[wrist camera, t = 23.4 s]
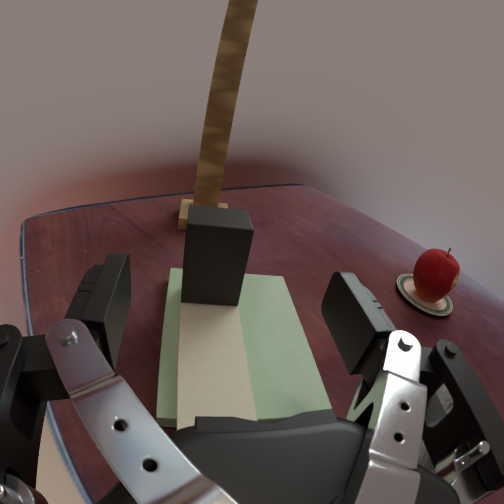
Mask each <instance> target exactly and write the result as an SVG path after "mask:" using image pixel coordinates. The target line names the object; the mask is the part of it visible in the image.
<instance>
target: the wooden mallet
mask: <svg viewBox="0 0 504 504" xmlns="http://www.w3.org/2000/svg"><path fill="white" fill-rule="evenodd" d="M253 233H254V229H253V226H252V223H251V220H250V217H249V214H248V211H247V210H238V209H229V208H220V207H211V206H201V205H191V204H190V205H189V210H188V218H187V226H186V237H185V248H184V260H183V273H182V288H181V305H180V321H179V340H178V366H177V430H179V429H182V428H185V427H189V426H194V423H195V416H212V417H230V416H232V417H237V418H242V419H248V420H253V421H257V415H256V410H255V404H254V399H253V393H252V388H251V382H250V376H249V370H248V365H247V359H246V353H245V347H244V341H243V335H242V329H241V323H240V317H239V311H238V303H239V299H240V294H241V289H242V284H243V280H244V275H245V270H246V266H247V261H248V256H249V252H250V247H251V242H252V237H253Z"/></svg>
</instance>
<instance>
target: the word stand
mask: <svg viewBox="0 0 504 504" xmlns="http://www.w3.org/2000/svg"><path fill="white" fill-rule="evenodd" d="M257 3H258V0H229V4H228V8H227V12H226V16H225V20H224V25H223V29H222V34H221V38H220V42H219V47H218V52H217V57H216V62H215V67H214V72H213V77H212V82H211V87H210V93H209V98H208V104H207V110H206V116H205V122H204V128H203V134H202V141H201V147H200V154H199V161H198V169H197V176H196V184H195V192H194V200H187V199H182V202H181V207H180V213H179V218H178V230H186V226H187V218H188V210H189V205H190V204H191V205H201V206H211V207H220V208H228V205H227V204H225V203H219V197H220V191H221V184H222V179H223V173H224V166H225V160H226V155H227V148H228V143H229V137H230V132H231V127H232V121H233V116H234V111H235V105H236V100H237V95H238V90H239V85H240V80H241V75H242V70H243V65H244V60H245V55H246V51H247V47H248V42H249V37H250V33H251V28H252V24H253V20H254V15H255V11H256V7H257Z"/></svg>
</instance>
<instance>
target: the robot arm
mask: <svg viewBox="0 0 504 504" xmlns="http://www.w3.org/2000/svg"><path fill="white" fill-rule="evenodd" d="M130 301H131V276H130V257H129V254H119V253H109V254H108V256H107V258H106V260H105V262H104V265H103V266H102V265H94V266H93V267H92V268H91V269H89V270H88V271H87V272H86V273H85V275H84V277H83V279H82V281H81V284H80V285H79V287H78V291H77V292H76V294H75V296H74V298H73V300H72V302H71V305H70V307H69V309H68V311H67V313H66V316H65V318H64V319H63V320H60V321H57V322H56V323H54V324H53V325H51V326H50V328H49V329H48V330H47V332H46V334H44V335H38V336H27V337H22V335H21V333H20V331H19V329H18V328H16V327H15V326H13V325H8V324H4V325H0V504H48V502H47V500H46V499H45V498H44V496H43V495H42V494H41V493H40V492H38V491H37V490H36V476H37V464H38V456H39V447H40V441H41V434H42V427H43V422H44V416H45V411H46V406H47V401H50V400H61V399H71V401H72V403H73V405H74V407H75V409H76V411H77V413H78V415H79V417H80V418H81V420H82V422H83V424H84V426H85V427H86V429H87V431H88V432H89V434H90V436H91V437H92V439H93V441H94V442H95V444H96V446H97V447H98V449H99V450H100V452H101V454H102V455H103V457H104V458H105V460H106V461H107V463H108V464H109V466H110V467H111V468H112V470H113V471H114V473H115V474H116V475H117V477H118V478H119V480H120V481H119V482H118V483H117V484H116V485H115V486H114V487H113V488H112V489H111V490H110V491H109V492H108V493H107V494H106V495H105V496H104V497H103V498H102V499H101V500H100V501H99V502H97V503H96V504H474V503H476V502H478V501H480V500H482V499H484V498H486V497H487V496H489V495H491V494H493V493H494V492H496V491H498V490H499V489H501V488H502V487H504V423H503V421H502V419H501V417H500V415H499V413H498V411H497V410H496V408H495V406H494V404H493V402H492V401H491V399H490V397H489V395H488V394H487V392H486V390H485V389H484V387H483V385H482V383H481V382H480V380H479V379H478V377H477V375H476V374H475V372H474V370H473V369H472V367H471V366H470V364H469V363H468V361H467V359H466V358H465V356H464V355H463V353H462V352H461V350H460V349H459V348H458V347H457V346H456V345H455V344H454V343H453V342H451V341H449V340H445V339H441V340H439V341H438V342H437V343H436V345H435V346H434V347H433V348H427V347H422V346H421V345H420V343H419V341H418V340H417V339H416V338H415V337H414V336H413V335H411V334H410V333H408V332H405V331H401V330H397V329H396V328H395V326H394V325H393V323H392V322H391V320H390V319H389V317H388V316H387V314H386V313H385V311H384V310H383V309H382V307H381V305H380V304H379V302H377V299H376V298H375V297H374V295H373V294H372V292H371V291H369V290H368V289H367V288H366V287H365V286H363V285H362V284H361V283H360V281H359V280H358V278H357V277H356V276H355V274H354V273H352V272H335V273H334V274H333V275H332V278H331V280H330V283H329V285H328V288H327V290H326V293H325V295H324V298H323V301H322V305H321V311H322V315H323V318H324V320H325V322H326V324H327V326H328V328H329V331H330V333H331V335H332V337H333V339H334V341H335V344H336V346H337V348H338V350H339V352H340V354H341V357H342V359H343V361H344V363H345V366H346V368H347V370H348V372H349V374H350V375H354V374H362V376H363V377H362V378H361V380H360V381H359V384H358V387H357V390H356V393H355V396H354V399H353V402H352V404H351V407H350V410H349V413H348V415H347V417H346V419H343V418H337V417H336V414H335V412H334V409H333V408H332V409H325V410H318V411H309V412H302V413H299V414H297V415H294V416H291V417H288V418H285V419H282V420H279V421H276V422H273V423H266V422H259V421H253V420H248V419H242V418H237V417H232V416H230V417H212V416H195V423H194V426H189V427H185V428H182V429H179V430H177V431H174V432H172V433H170V434H168V435H167V434H166V433H165V432H164V431H163V429H162V428H161V427H160V426H159V425H158V423H157V422H156V421H155V420H154V418H153V417H152V416H151V415H150V413H149V412H148V411H147V409H146V408H145V407H144V405H143V404H142V403H141V402H140V400H139V399H138V397H137V396H136V395H135V393H134V392H133V391H132V389H131V388H130V386H129V385H128V384H127V382H126V381H125V379H124V378H123V377H122V376H121V375H120V374H117V375H116V374H115V373H114V372H115V369H116V364H117V359H118V354H119V350H120V345H121V340H122V336H123V331H124V327H125V323H126V318H127V314H128V310H129V306H130ZM443 384H445V386H446V388H447V390H448V391H449V393H450V395H451V397H452V399H453V408H452V410H451V411H450V412H449V413H448V414H446V412H445V410H444V408H443V406H442V404H441V402H440V400H439V398H438V396H437V394H436V392H437V390H438V389H439V388H440V387H441V386H442V385H443ZM422 439H423V442H424V444H425V447H426V449H427V452H428V454H429V457H430V459H431V462H432V464H433V467H434V470H435V474H434V473H433V472H431V471H429V470H428V469H426V468H425V467H423V466H421V465H420V464H418V458H419V452H420V447H421V440H422Z"/></svg>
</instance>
